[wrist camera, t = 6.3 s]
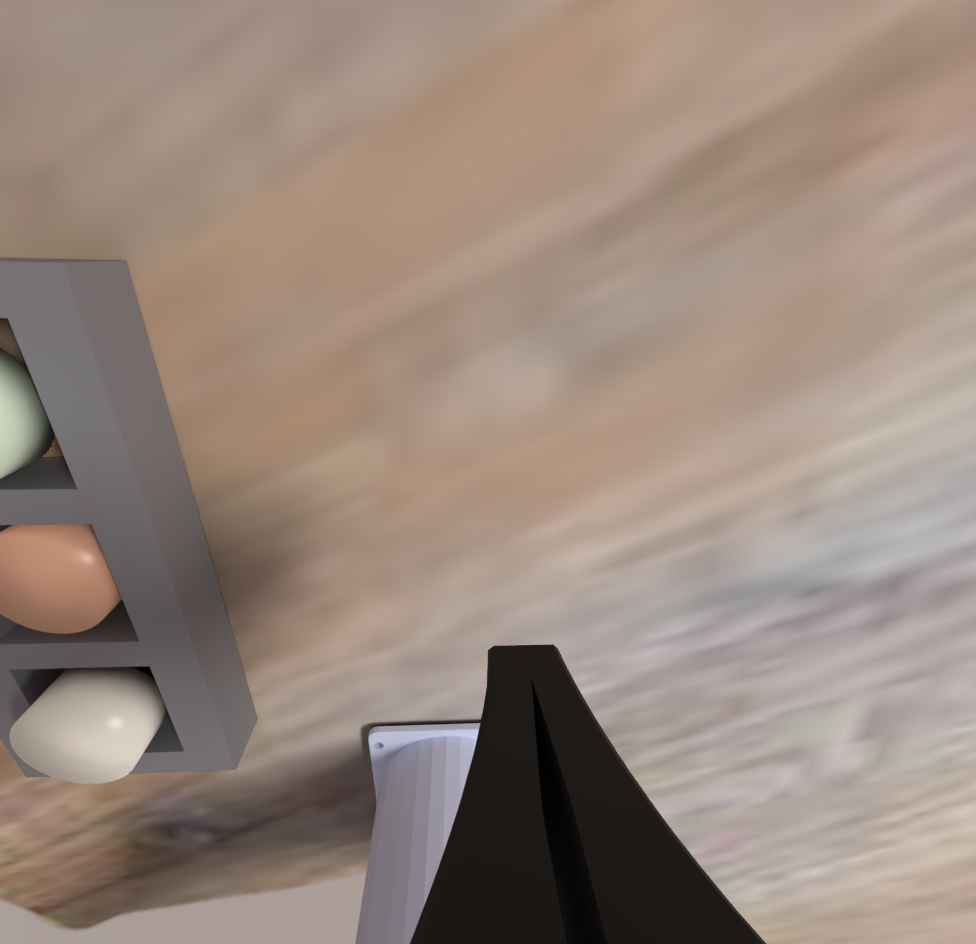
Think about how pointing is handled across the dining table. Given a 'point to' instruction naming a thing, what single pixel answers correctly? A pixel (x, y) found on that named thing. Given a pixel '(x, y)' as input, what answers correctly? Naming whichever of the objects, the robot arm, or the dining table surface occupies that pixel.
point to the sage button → (20, 418)
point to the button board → (118, 517)
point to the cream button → (90, 724)
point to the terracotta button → (55, 578)
